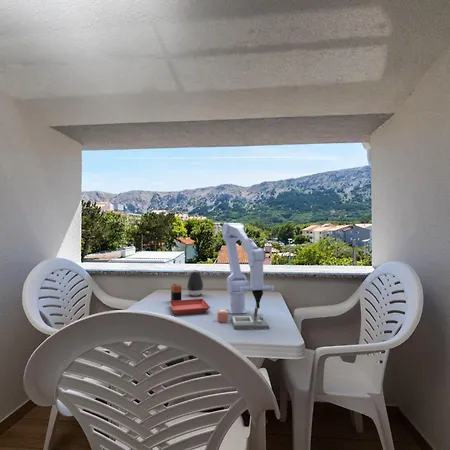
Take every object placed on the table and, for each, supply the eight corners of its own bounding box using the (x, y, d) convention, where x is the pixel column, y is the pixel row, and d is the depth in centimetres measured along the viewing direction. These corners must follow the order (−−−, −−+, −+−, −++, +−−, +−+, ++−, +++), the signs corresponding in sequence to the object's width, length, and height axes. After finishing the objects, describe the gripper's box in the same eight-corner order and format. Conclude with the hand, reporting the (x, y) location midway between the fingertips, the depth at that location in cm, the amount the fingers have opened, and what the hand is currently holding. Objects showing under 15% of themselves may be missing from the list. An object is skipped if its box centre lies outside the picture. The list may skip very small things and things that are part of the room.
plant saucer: (172, 316, 135) (172, 309, 135) (169, 306, 152) (169, 300, 152) (210, 313, 140) (210, 307, 140) (203, 304, 157) (203, 298, 157)
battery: (178, 299, 166) (178, 282, 167) (181, 302, 160) (181, 284, 160) (171, 300, 165) (171, 282, 165) (173, 303, 158) (173, 284, 159)
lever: (253, 317, 128) (254, 304, 128) (255, 317, 128) (257, 305, 129) (254, 319, 126) (255, 306, 126) (256, 319, 126) (258, 306, 126)
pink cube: (217, 318, 131) (217, 309, 131) (227, 318, 132) (227, 309, 132) (217, 322, 127) (218, 312, 127) (228, 321, 127) (228, 312, 127)
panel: (230, 317, 133) (230, 311, 133) (261, 316, 134) (261, 311, 134) (234, 329, 117) (234, 323, 117) (268, 328, 118) (268, 322, 118)
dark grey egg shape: (204, 293, 184) (204, 269, 184) (201, 296, 173) (202, 271, 174) (188, 292, 185) (189, 268, 185) (185, 296, 174) (185, 271, 175)
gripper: (241, 278, 123) (242, 310, 122) (275, 277, 124) (276, 309, 123) (239, 276, 130) (240, 306, 129) (271, 275, 131) (272, 305, 130)
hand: (257, 307), depth 127 cm, fingers closed, pressing on lever
